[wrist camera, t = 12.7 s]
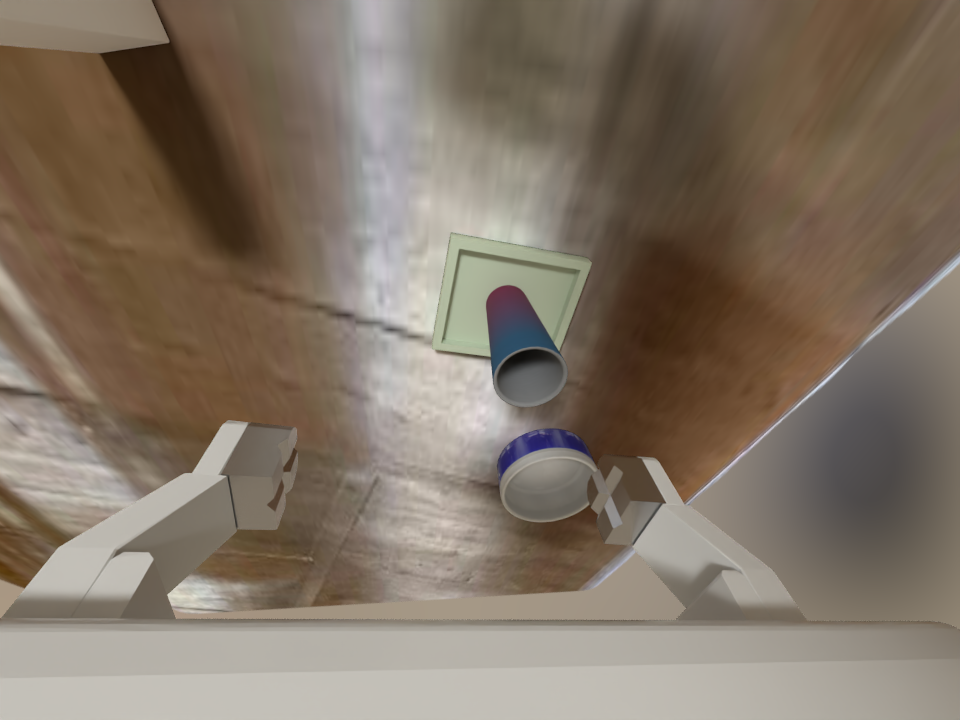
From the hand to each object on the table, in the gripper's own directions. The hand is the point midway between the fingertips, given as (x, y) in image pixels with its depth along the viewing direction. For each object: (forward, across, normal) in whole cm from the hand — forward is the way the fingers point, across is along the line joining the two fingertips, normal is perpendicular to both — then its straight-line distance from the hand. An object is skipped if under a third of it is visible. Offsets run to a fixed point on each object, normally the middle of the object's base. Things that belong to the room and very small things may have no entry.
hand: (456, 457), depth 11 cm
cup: (+37, -10, +12) cm, 40 cm away
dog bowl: (+38, -23, +39) cm, 59 cm away
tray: (+37, -10, +12) cm, 40 cm away
